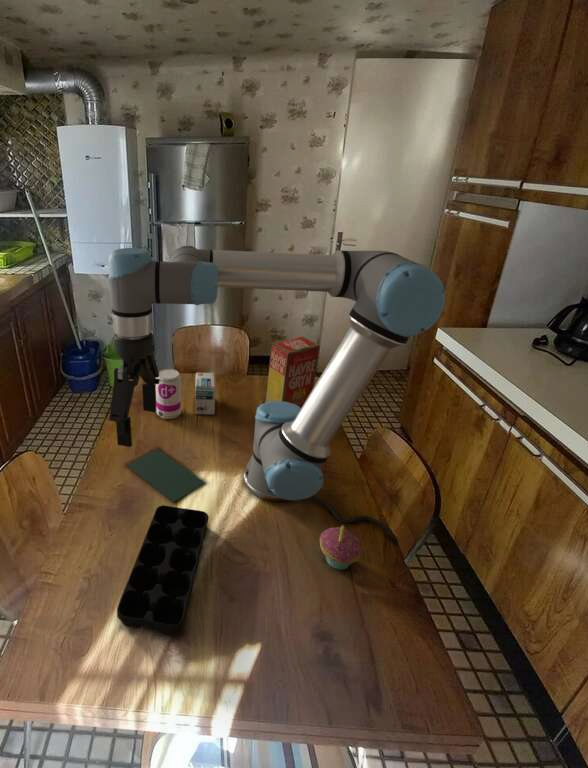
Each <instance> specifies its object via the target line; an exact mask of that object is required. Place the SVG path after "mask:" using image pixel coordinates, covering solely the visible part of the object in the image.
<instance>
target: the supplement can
mask: <svg viewBox="0 0 588 768" xmlns="http://www.w3.org/2000/svg"><path fill="white" fill-rule="evenodd" d="M158 372H159V376H158V378H156V379H159V384H155V397H156V415H157V416H159V417H160V418H161V419H166V420H173V419H176V418H177V417H179V416H180V415H181V414H182V377H181V375H180V372H179V371H178V370H176V369H173V368H164V369H161V370H158Z"/></svg>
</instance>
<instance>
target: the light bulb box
mask: <svg viewBox="0 0 588 768" xmlns="http://www.w3.org/2000/svg"><path fill="white" fill-rule="evenodd" d="M215 374H216V373H215V372H195V383H194V384H195V386H194V387H195V388H194V389H195V392H194V395H195V396H194V398H195V402H194V403H195V405H194V406H195V409H194V410H195V411H194V412H195V415H215V413H216V411H215V410H216V381H215V380H216V379H215V376H216V375H215Z"/></svg>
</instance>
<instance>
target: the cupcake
mask: <svg viewBox="0 0 588 768" xmlns="http://www.w3.org/2000/svg"><path fill="white" fill-rule="evenodd" d="M319 546H320V549H321V552H322V554H323V555H324V556H325V560H326V562H327V564H328V565H329V566H330V567H332V568H333V569H336V570H339V571H340V570H341V571H342V570H346V569H347V568H348V567H350V565H351V564H354V563H356V562H358V561H359V560H360V557H361V555H362V552H363V546H362V544H361V541H360V539H359V537H358V536H357V535H355V534H354V533H353V532H352V531H350V530H349V529H346V528H345V526H344V524H342V525H341V526H340V527H339V526H337V527H336V526H335V527H334V526H333V527H328V528H326V529H325V530H323V532H322V533H321V535H320V536H319Z"/></svg>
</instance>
